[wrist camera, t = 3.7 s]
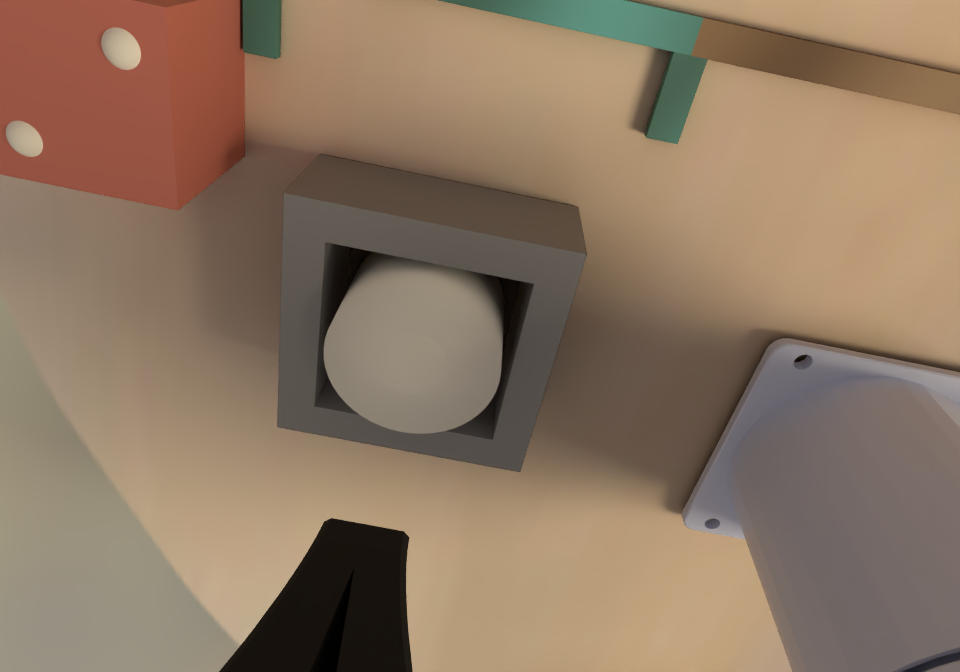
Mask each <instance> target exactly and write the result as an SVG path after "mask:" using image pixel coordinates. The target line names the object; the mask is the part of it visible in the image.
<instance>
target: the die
mask: <svg viewBox="0 0 960 672" xmlns="http://www.w3.org/2000/svg"><path fill="white" fill-rule="evenodd" d="M243 157H245V96H244V52H243V0H0V174H2V175H7V176H11V177H16V178H21V179H26V180H31V181H36V182H41V183H46V184H51V185H56V186H61V187H66V188H70V189H75V190H80V191H85V192H90V193H95V194H100V195H105V196H110V197H115V198H120V199H125V200H130V201H134V202H139V203H144V204H149V205H154V206H159V207H164V208H169V209H174V210H179V209H180V208H181V207H183V206H184V205H185V204H186V203H188V202H189V201H190V200H191V199H193V198H194V197H195V196H196V195H198V194H199V193H200V192H201V191H202V190H204V189H205V188H206V187H207V186H209V185H210V184H211V183H212V182H214V181H215V180H216V179H217V178H219V177H220V176H221V175H222V174H224V173H225V172H226V171H227V170H228V169H230V168H231V167H232V166H233V165H235V164H236V163H237V162H238V161H240V160H241V159H242V158H243Z"/></svg>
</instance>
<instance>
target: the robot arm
mask: <svg viewBox="0 0 960 672" xmlns="http://www.w3.org/2000/svg"><path fill="white" fill-rule="evenodd" d="M801 355H807V357H806V358H805V359H804V360H802V361H800V362H794V360H795V359H796V358H797V357H799V356H801ZM682 518H683V522H684V524H685V526H686V527H687V528H689V529H692V530H697V531H702V532H708V533H713V534H719V535H724V536H730V537H735V538H741V539H746V542H747V545H748V548H749V550H750V553H751V556H752V559H753V562H754V565H755V567H756V570H757V573H758V576H759V579H760V581H761V584H762V587H763V590H764V593H765V595H766V598H767V601H768V604H769V607H770V610H771V612H772V615H773V618H774V621H775V624H776V626H777V629H778V632H779V635H780V638H781V641H782V643H783V646H784V649H785V652H786V655H787V657H788V660H789V663H790V666H791V669H792V672H960V372H956V371H951V370H946V369H941V368H936V367H931V366H926V365H921V364H916V363H911V362H906V361H901V360H896V359H891V358H886V357H881V356H876V355H871V354H866V353H861V352H856V351H851V350H846V349H841V348H836V347H831V346H826V345H821V344H816V343H811V342H806V341H801V340H795V339H790V338H782V339H779V340H776V341H774V342H773V343H771V344H770V345H769V347H768V348H767V349H766V351H765V353H764V355H763V357H762V359H761V361H760V363H759V364H758V366H757V368H756V370H755V372H754V374H753V376H752V378H751V380H750V382H749V384H748V386H747V388H746V390H745V392H744V393H743V395H742V397H741V399H740V401H739V403H738V405H737V407H736V409H735V411H734V413H733V415H732V417H731V419H730V421H729V422H728V424H727V426H726V428H725V430H724V432H723V434H722V436H721V438H720V440H719V442H718V444H717V446H716V448H715V450H714V451H713V453H712V455H711V457H710V459H709V461H708V463H707V465H706V467H705V469H704V471H703V473H702V475H701V477H700V478H699V480H698V482H697V484H696V486H695V488H694V490H693V492H692V494H691V496H690V498H689V500H688V502H687V504H686V506H685V507H684V509H683V512H682ZM709 519H713V520H709ZM408 542H409V537H408V536H407V534H406V533H405V532H404V531H398V530H393V529H387V528H382V527H377V526H371V525H366V524H360V523H355V522H349V521H344V520H338V519H333V518H331V519H329V520H327V521H325V522H324V523H323V525H322V527H321V529H320V531H319V533H318V535H317V537H316V538H315V540H314V542H313V544H312V545H311V547H310V549H309V550H308V552H307V554H306V555H305V557H304V558H303V560H302V562H301V563H300V565H299V566H298V568H297V569H296V571H295V572H294V574H293V575H292V577H291V578H290V580H289V581H288V583H287V584H286V585H285V587H284V588H283V590H282V591H281V593H280V594H279V595H278V597H277V598H276V599H275V601H274V602H273V604H272V605H271V606H270V608H269V609H268V610H267V612H266V613H265V614H264V616H263V617H262V618H261V620H260V621H259V622H258V624H257V625H256V627H255V628H254V629H253V631H252V632H251V633H250V634H249V636H248V637H247V638H246V640H245V641H244V642H243V643H242V645H241V646H240V647H239V648H238V649H237V651H236V652H235V653H234V655H233V656H232V657H231V658H230V659H229V660H228V662H227V663H226V664H225V665H224V667H223V668H222V669H221V670H220V671H219V672H412V662H411V653H410V643H409V634H408V622H407V603H406V561H407V549H408Z"/></svg>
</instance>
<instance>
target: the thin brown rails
mask: <svg viewBox="0 0 960 672" xmlns="http://www.w3.org/2000/svg"><path fill="white" fill-rule="evenodd" d="M439 1H444V2H448V3H453V4H458V5H462V6H467V7H471V8H476V9H480V10H485V11H489V12H494V13H499V14H503V15H508V16H512V17H517V18H521V19H526V20H531V21H535V22H540V23H544V24H549V25H553V26H558V27H562V28H567V29H572V30H576V31H581V32H585V33H590V34H594V35H599V36H604V37H608V38H613V39H617V40H622V41H626V42H631V43H635V44H640V45H645V46H649V47H654V48H658V49H663V50H667V51H671V54H670V57H669V60H668V63H667V66H666V69H665V72H664V75H663V78H662V82H661V85H660V88H659V91H658V94H657V97H656V100H655V103H654V106H653V109H652V112H651V115H650V119H649V122H648V125H647V128H646V131H645V136H646V138H651V139H655V140H660V141H665V142H670V143H674V144H678V141H679V138H680V136H681V133H682V130H683V127H684V124H685V122H686V119H687V116H688V113H689V110H690V107H691V105H692V102H693V99H694V96H695V93H696V90H697V88H698V85H699V82H700V79H701V76H702V74H703V71H704V68H705V65H706V62H707V59H709V60H713V61H718V62H722V63H727V64H731V65H736V66H740V67H745V68H750V69H754V70H759V71H763V72H768V73H772V74H777V75H782V76H786V77H791V78H795V79H800V80H804V81H809V82H813V83H818V84H823V85H827V86H832V87H836V88H841V89H845V90H850V91H855V92H859V93H864V94H868V95H873V96H877V97H882V98H886V99H891V100H896V101H900V102H905V103H909V104H914V105H918V106H923V107H928V108H932V109H937V110H941V111H946V112H950V113H955V114H959V115H960V74H957V73H953V72H948V71H944V70H939V69H935V68H930V67H926V66H921V65H917V64H912V63H908V62H903V61H899V60H894V59H890V58H885V57H881V56H876V55H872V54H867V53H863V52H858V51H854V50H849V49H845V48H840V47H836V46H831V45H827V44H822V43H818V42H813V41H809V40H804V39H800V38H795V37H791V36H786V35H782V34H777V33H773V32H768V31H764V30H759V29H755V28H750V27H746V26H741V25H737V24H732V23H728V22H723V21H719V20H714V19H710V18H705V17H701V16H696V15H692V14H687V13H683V12H678V11H674V10H669V9H665V8H660V7H656V6H651V5H647V4H642V3H638V2H633V1H629V0H439ZM280 43H281V0H243V52H246V53H250V54H255V55H260V56H264V57H269V58H274V59H277V58H279V57H280Z"/></svg>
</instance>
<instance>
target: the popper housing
mask: <svg viewBox="0 0 960 672" xmlns="http://www.w3.org/2000/svg"><path fill="white" fill-rule="evenodd" d="M350 247H352V248H357V249H362V250H367V251H372V252H377V253H382V254H387V255H392V256H397V257H402V258H407V259H412V260H417V261H422V262H427V263H432V264H437V265H442V266H447V267H452V268H457V269H462V270H467V271H472V272H477V273H482V274H487V275H493V276H498V277H503V278H508V279H513V280H518V281H521V285H520V289H519V293H518V297H517V300H516V304H515V308H514V312H513V316H512V320H511V324H510V328H509V332H508V336H507V340H506V344H505V348H504V352H503V356H502V365H501V376H500V382H499V385H498V388H497V391H496V393H495V394H494V396H493V398H492V400H491V401H490V403H489V404H488V405H487V407H486V408H485V409H484V410H483V411H482V412H481V413H480V414H478V415H477V416H476V417H474V418H473V419H472V420H470V421H468V422H467V423H465V424H463V425H461V426H458V427H456V428H453V429H450V430H447V431H443V432H437V433H427V434H414V433H405V432H399V431H395V430H391V429H388V428H385V427H382V426H380V425H377V424H375V423H373V422H371V421H369V420H367V419H366V418H364V417H362V416H361V415H359V414H358V413H357V412H355V411H354V410H353V409H352V408H350V407H349V406H348V405H347V404H346V403H345V402H344V401H343V399H342V398H341V397H340V396H339V395H338V393H337V392H336V390H335V389H334V387H333V386H332V384H331V382H330V379H329V377H328V375H327V371H326V368H325V363H324V342H325V337H326V334H327V331H328V329H329V327H330V325H331V323H332V321H333V319H334V317H335V315H336V313H337V311H338V309H339V307H340V305H341V303H342V301H343V299H344V297H345V295H346V284H347V273H348V262H349V251H350ZM586 256H587V252H586V247H585V241H584V236H583V230H582V224H581V219H580V213H579V208H578V207H576V206H571V205H566V204H561V203H556V202H552V201H547V200H542V199H537V198H532V197H527V196H522V195H518V194H513V193H508V192H503V191H498V190H493V189H488V188H484V187H479V186H474V185H469V184H464V183H459V182H454V181H450V180H445V179H440V178H435V177H430V176H425V175H420V174H416V173H411V172H406V171H401V170H396V169H391V168H386V167H382V166H377V165H372V164H367V163H362V162H357V161H353V160H348V159H343V158H338V157H333V156H328V155H323V154H319V155H318V156H317V157H316V158H315V160H314V161H313V162H312V163H311V164H310V165H309V166H308V167H307V168H306V169H305V170H304V171H303V173H302V174H301V175H300V176H299V177H298V178H297V179H296V180H295V181H294V182H293V183H292V184H291V186H290V187H289V188H288V189H287V190H286V191H285V192H284V195H283V233H282V270H281V307H280V345H279V382H278V419H277V427H279V428H285V429H290V430H295V431H301V432H306V433H312V434H317V435H322V436H328V437H333V438H339V439H344V440H349V441H355V442H360V443H366V444H371V445H376V446H382V447H387V448H392V449H398V450H403V451H409V452H414V453H419V454H425V455H430V456H436V457H441V458H446V459H452V460H457V461H463V462H468V463H473V464H479V465H484V466H490V467H495V468H500V469H506V470H511V471H516V472H520V471H521V467H522V464H523V461H524V458H525V454H526V451H527V448H528V445H529V441H530V438H531V435H532V431H533V428H534V425H535V422H536V418H537V415H538V412H539V409H540V405H541V402H542V399H543V396H544V392H545V389H546V386H547V383H548V379H549V376H550V373H551V370H552V366H553V363H554V360H555V357H556V353H557V350H558V347H559V344H560V340H561V337H562V334H563V331H564V327H565V324H566V321H567V318H568V314H569V311H570V308H571V305H572V301H573V298H574V295H575V292H576V288H577V285H578V282H579V279H580V275H581V272H582V269H583V266H584V262H585V259H586Z"/></svg>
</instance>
